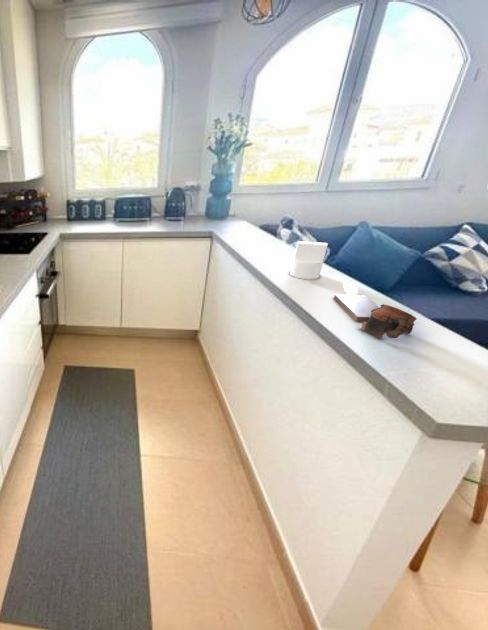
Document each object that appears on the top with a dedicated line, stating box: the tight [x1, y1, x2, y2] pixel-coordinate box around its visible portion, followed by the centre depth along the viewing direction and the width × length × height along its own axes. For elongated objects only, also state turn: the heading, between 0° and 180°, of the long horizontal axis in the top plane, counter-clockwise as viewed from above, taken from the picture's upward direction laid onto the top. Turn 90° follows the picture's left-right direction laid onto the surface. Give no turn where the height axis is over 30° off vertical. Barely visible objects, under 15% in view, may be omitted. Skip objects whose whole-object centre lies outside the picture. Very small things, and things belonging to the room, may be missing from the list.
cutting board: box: [333, 293, 392, 323], centre depth 99 cm, size 8×16×2 cm, turn 163°
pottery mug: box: [360, 303, 418, 339], centre depth 86 cm, size 12×10×8 cm
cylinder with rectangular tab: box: [289, 240, 329, 280], centre depth 124 cm, size 9×9×12 cm
